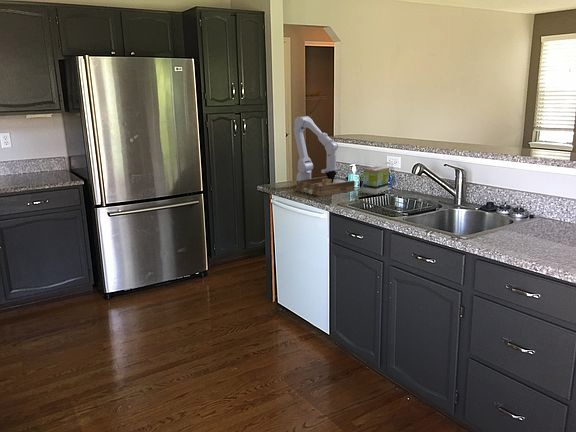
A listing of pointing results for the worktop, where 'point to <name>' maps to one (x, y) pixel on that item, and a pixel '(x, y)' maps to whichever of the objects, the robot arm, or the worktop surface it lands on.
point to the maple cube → (326, 181)
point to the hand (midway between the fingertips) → (330, 183)
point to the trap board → (324, 187)
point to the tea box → (375, 180)
